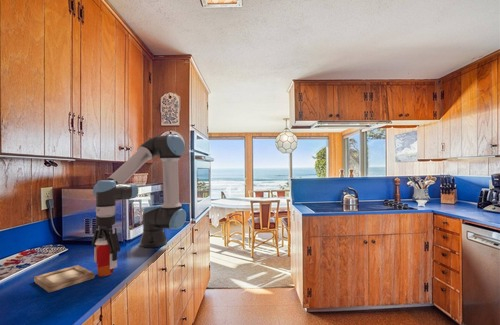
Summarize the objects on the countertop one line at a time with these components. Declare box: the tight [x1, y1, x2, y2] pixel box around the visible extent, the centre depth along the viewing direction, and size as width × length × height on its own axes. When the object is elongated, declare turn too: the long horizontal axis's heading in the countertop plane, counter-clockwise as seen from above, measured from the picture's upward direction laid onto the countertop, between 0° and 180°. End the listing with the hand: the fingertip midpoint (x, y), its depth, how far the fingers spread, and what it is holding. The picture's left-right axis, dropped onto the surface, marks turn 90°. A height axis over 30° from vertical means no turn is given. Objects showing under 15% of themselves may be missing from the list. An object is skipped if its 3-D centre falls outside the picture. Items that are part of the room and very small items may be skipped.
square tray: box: [33, 264, 95, 293], centre depth 111 cm, size 16×16×2 cm
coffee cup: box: [95, 238, 115, 277], centre depth 117 cm, size 8×8×15 cm
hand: (105, 264), depth 117 cm, fingers open, 13 cm apart
